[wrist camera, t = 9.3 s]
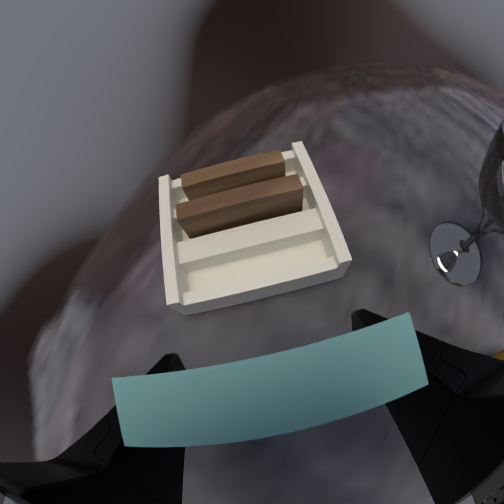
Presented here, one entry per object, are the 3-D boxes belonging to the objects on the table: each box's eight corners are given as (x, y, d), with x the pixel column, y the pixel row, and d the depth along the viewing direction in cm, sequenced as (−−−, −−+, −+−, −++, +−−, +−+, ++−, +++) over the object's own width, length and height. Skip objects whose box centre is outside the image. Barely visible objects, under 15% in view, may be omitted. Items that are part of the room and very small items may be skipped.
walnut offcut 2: (301, 217, 25) (303, 188, 21) (193, 244, 25) (176, 219, 21) (297, 204, 26) (297, 173, 22) (192, 230, 26) (175, 204, 22)
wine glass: (418, 270, 23) (511, 166, 9) (433, 206, 25) (496, 98, 11) (478, 302, 20) (585, 232, 7) (487, 237, 23) (564, 153, 9)
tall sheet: (338, 378, 13) (428, 383, 4) (226, 403, 13) (125, 446, 4) (332, 351, 14) (409, 311, 5) (221, 377, 14) (111, 377, 5)
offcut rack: (342, 277, 23) (352, 259, 20) (185, 315, 24) (166, 304, 20) (301, 168, 29) (301, 141, 25) (172, 200, 29) (158, 177, 25)
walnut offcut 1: (286, 189, 26) (284, 161, 23) (195, 211, 27) (181, 187, 23) (281, 177, 27) (280, 149, 24) (193, 199, 27) (180, 174, 24)
